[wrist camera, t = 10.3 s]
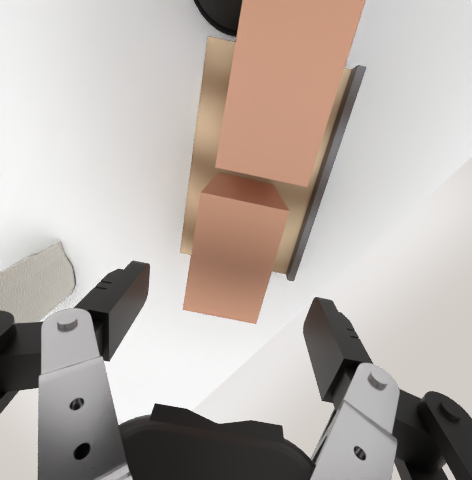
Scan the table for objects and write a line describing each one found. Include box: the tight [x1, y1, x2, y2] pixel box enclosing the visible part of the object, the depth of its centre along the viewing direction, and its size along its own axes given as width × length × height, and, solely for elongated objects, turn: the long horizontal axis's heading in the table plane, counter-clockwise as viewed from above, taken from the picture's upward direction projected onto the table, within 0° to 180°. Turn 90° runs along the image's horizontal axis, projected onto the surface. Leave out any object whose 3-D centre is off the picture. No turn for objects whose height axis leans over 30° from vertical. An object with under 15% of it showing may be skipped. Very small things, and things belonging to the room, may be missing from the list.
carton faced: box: [215, 0, 365, 187], centre depth 16 cm, size 8×5×9 cm, turn 168°
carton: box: [183, 172, 290, 324], centre depth 19 cm, size 8×5×9 cm, turn 168°
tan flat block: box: [180, 36, 366, 281], centre depth 22 cm, size 18×12×3 cm, turn 169°
